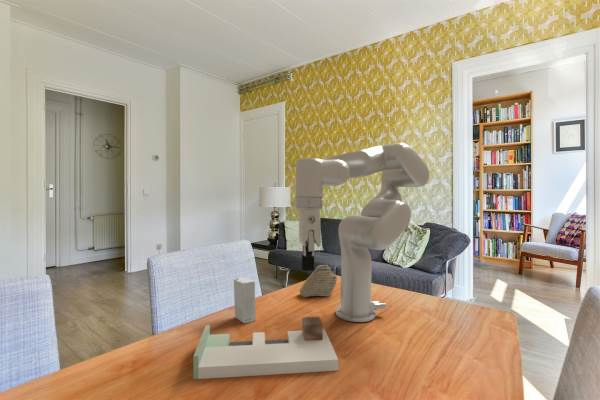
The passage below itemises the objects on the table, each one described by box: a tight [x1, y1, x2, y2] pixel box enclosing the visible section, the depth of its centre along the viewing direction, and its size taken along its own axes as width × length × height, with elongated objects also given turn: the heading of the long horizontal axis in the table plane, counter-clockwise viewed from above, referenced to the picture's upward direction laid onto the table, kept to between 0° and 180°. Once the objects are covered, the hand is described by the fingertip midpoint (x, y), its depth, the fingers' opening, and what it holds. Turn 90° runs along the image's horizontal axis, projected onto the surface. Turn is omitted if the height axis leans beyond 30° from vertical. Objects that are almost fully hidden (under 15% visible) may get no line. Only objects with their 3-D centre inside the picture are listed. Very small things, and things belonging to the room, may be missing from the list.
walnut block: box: [301, 316, 324, 341], centre depth 81 cm, size 4×4×4 cm
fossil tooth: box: [299, 264, 338, 298], centre depth 121 cm, size 12×6×15 cm
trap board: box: [192, 324, 339, 380], centre depth 76 cm, size 31×15×5 cm, turn 97°
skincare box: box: [233, 276, 257, 324], centre depth 97 cm, size 6×4×12 cm
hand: (307, 269), depth 88 cm, fingers closed
